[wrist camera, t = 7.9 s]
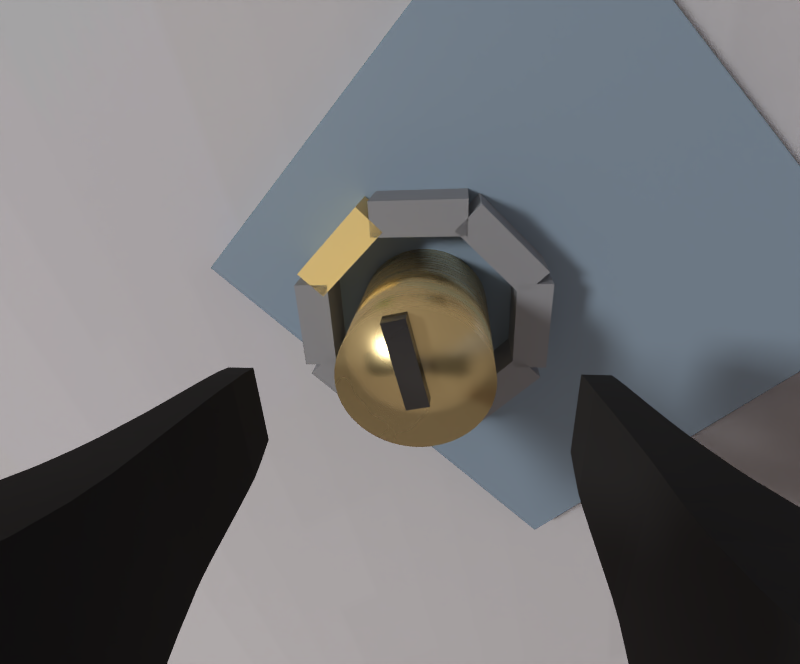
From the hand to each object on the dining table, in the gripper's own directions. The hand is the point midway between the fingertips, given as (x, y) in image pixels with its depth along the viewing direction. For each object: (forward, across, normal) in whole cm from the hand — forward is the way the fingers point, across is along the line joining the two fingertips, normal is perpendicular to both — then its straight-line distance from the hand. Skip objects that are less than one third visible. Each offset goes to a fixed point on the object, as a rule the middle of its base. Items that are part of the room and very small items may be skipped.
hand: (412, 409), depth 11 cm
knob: (+6, 0, 0) cm, 6 cm away
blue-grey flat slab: (+7, -3, -1) cm, 8 cm away
